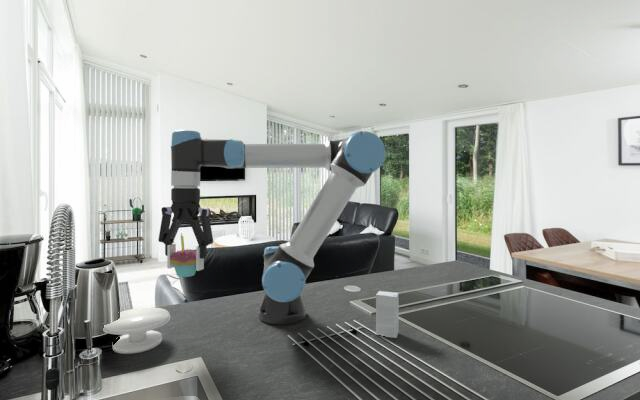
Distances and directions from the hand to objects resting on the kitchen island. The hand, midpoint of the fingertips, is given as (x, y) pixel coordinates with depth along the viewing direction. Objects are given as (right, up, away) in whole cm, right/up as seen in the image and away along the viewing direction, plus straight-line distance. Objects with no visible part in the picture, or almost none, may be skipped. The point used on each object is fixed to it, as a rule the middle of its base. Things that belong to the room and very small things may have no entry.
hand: (185, 268), depth 104 cm
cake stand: (-12, -20, -3) cm, 23 cm away
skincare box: (+57, -20, +3) cm, 60 cm away
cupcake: (0, -2, 0) cm, 2 cm away
